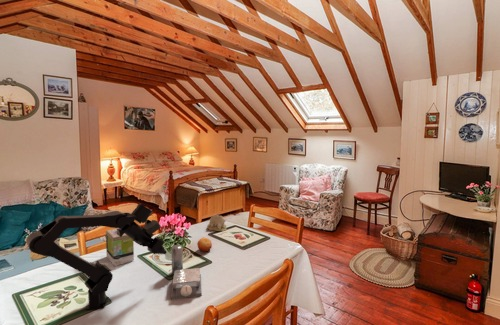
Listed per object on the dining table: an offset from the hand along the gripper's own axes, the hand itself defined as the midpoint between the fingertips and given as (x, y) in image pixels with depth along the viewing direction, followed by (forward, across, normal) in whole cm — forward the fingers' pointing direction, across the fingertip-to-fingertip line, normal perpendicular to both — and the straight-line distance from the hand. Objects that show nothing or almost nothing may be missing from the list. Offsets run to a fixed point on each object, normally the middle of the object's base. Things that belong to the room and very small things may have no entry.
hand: (160, 250), depth 120 cm
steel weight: (+15, 0, +4) cm, 16 cm away
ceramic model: (+52, +34, -34) cm, 71 cm away
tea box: (+6, +34, +13) cm, 37 cm away
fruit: (+32, +10, -13) cm, 36 cm away
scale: (+12, -14, +6) cm, 20 cm away
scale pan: (+12, -13, +4) cm, 18 cm away
